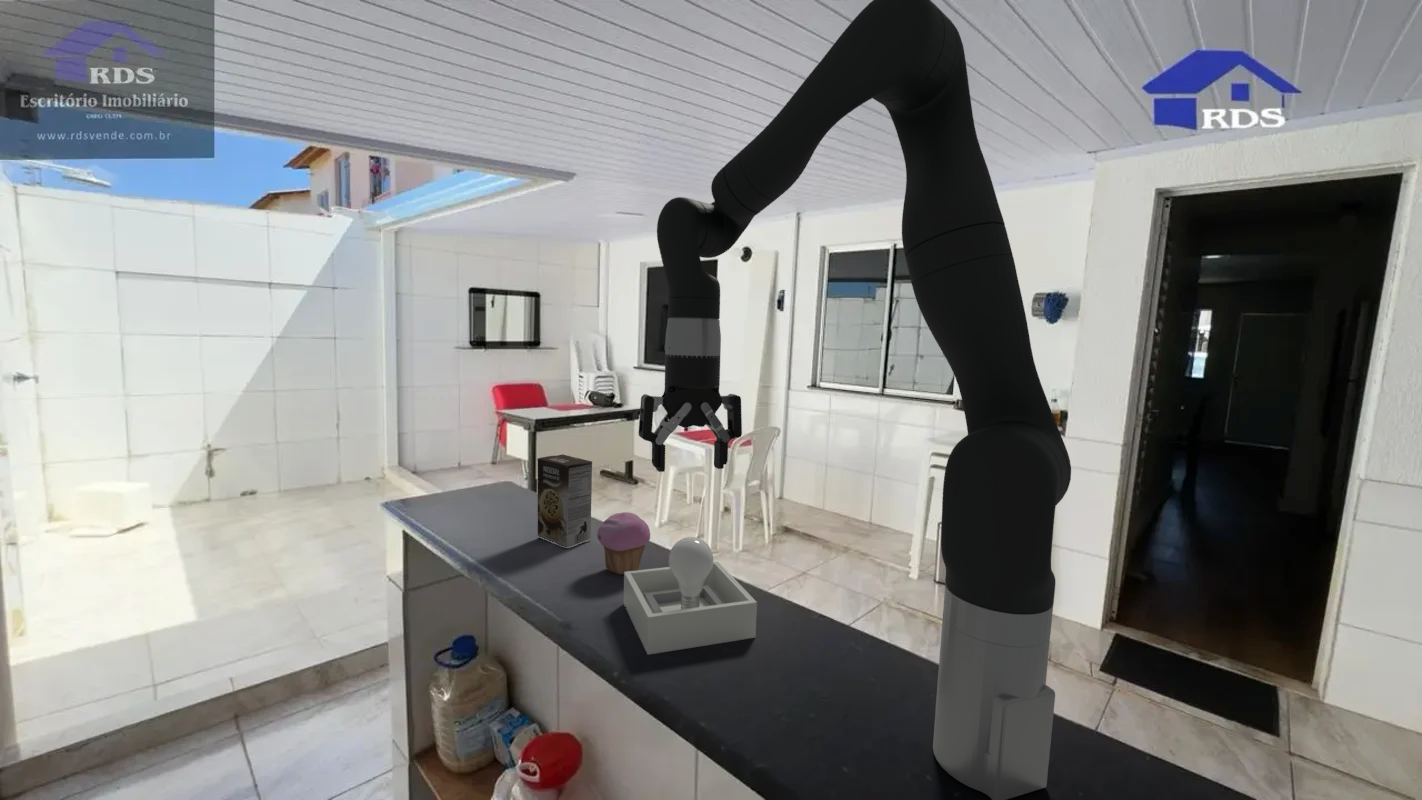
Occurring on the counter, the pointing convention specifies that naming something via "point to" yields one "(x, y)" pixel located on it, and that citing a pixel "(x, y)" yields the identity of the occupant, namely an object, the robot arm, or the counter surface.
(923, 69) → the robot arm
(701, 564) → the lightbulb
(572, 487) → the coffee box
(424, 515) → the counter surface
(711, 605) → the walled box
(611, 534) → the cupcake
